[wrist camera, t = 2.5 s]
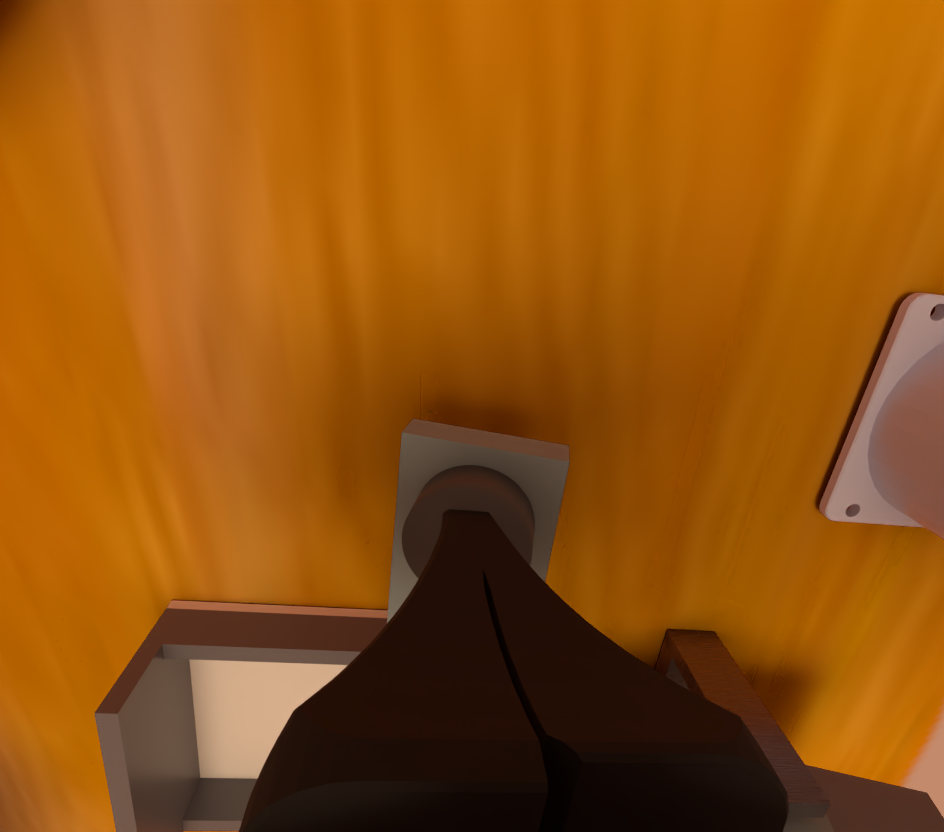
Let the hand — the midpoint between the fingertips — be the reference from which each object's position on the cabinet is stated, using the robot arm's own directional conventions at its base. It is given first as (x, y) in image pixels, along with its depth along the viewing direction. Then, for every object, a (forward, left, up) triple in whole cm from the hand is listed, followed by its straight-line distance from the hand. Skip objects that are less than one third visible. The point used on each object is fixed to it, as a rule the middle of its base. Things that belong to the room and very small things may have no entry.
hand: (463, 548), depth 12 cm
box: (+3, +11, -6) cm, 13 cm away
